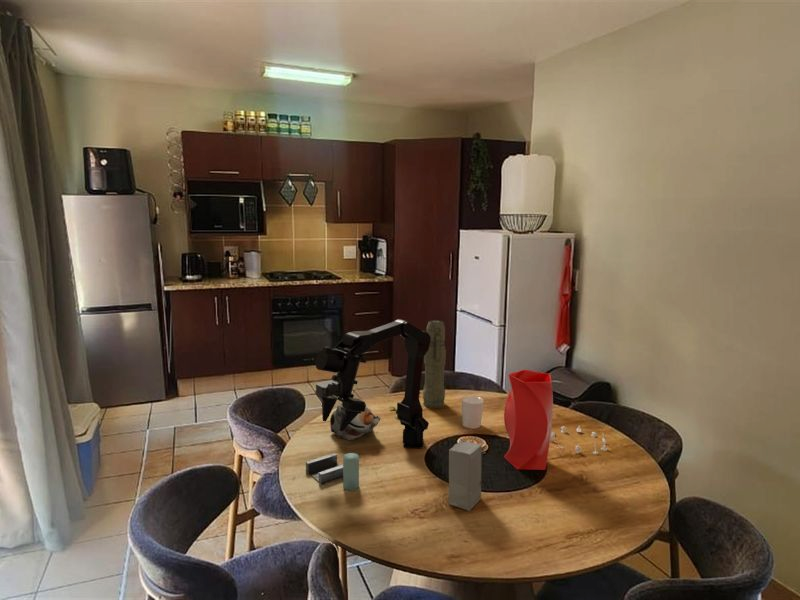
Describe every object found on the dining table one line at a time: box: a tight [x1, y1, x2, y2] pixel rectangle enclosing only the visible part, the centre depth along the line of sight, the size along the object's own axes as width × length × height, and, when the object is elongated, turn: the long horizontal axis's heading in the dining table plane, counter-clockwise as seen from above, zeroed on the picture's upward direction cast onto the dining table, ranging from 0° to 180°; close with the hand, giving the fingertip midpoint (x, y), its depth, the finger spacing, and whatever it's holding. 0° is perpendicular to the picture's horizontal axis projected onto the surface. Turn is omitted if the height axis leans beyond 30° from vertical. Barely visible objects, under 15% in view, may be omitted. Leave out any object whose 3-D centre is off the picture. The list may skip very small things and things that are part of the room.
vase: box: [503, 369, 554, 471], centre depth 161 cm, size 15×14×28 cm
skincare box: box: [448, 439, 483, 512], centre depth 139 cm, size 8×7×16 cm
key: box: [388, 404, 400, 421], centre depth 200 cm, size 7×12×2 cm, turn 44°
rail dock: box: [305, 452, 343, 485], centre depth 154 cm, size 10×10×3 cm
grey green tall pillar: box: [422, 319, 447, 409], centre depth 209 cm, size 9×12×35 cm
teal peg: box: [342, 452, 360, 491], centre depth 146 cm, size 4×4×9 cm
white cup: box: [461, 395, 484, 430], centre depth 190 cm, size 8×8×10 cm
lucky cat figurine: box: [329, 403, 381, 441], centre depth 180 cm, size 17×14×16 cm
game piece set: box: [550, 425, 609, 455], centre depth 178 cm, size 19×20×4 cm
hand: (332, 425), depth 152 cm, fingers open, 9 cm apart
